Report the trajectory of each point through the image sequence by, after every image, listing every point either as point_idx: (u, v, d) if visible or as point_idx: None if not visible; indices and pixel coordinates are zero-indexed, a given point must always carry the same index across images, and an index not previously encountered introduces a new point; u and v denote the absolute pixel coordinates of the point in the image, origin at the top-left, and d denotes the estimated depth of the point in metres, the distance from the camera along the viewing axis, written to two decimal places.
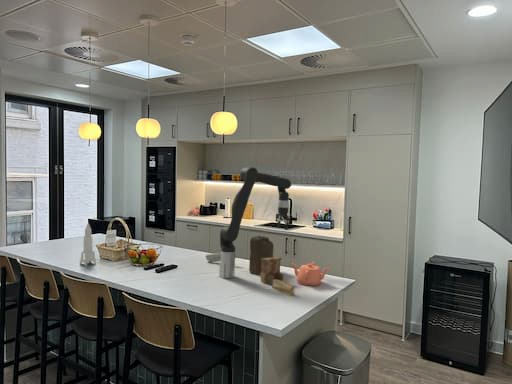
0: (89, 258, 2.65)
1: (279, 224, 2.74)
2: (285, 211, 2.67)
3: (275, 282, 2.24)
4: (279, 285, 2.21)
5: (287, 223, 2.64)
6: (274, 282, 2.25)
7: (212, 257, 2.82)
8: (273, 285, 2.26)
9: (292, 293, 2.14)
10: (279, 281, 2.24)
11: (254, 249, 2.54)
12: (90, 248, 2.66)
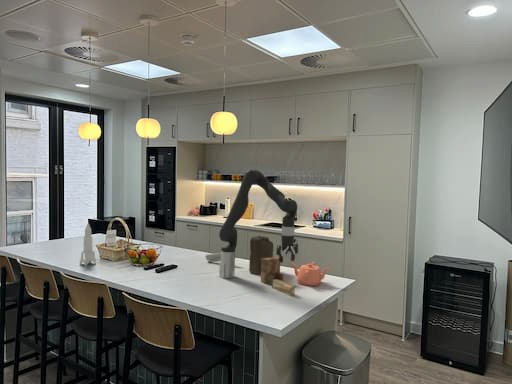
0: (89, 258, 2.65)
1: None
2: None
3: (275, 282, 2.24)
4: (279, 285, 2.21)
5: (297, 252, 2.21)
6: (274, 282, 2.25)
7: (212, 257, 2.82)
8: (273, 285, 2.26)
9: (292, 293, 2.14)
10: (279, 281, 2.24)
11: (254, 249, 2.54)
12: (90, 248, 2.66)
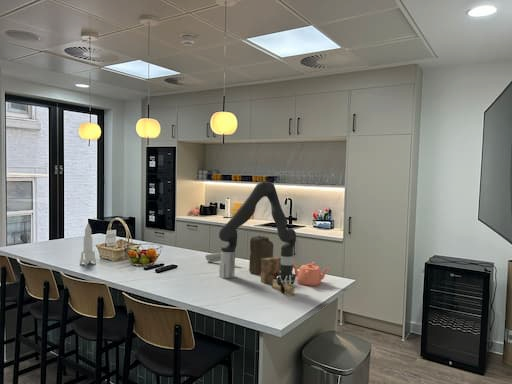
0: (89, 258, 2.65)
1: None
2: None
3: (275, 282, 2.24)
4: None
5: (293, 283, 2.20)
6: (274, 282, 2.25)
7: (212, 257, 2.82)
8: (273, 285, 2.26)
9: (292, 293, 2.14)
10: None
11: (254, 249, 2.54)
12: (90, 248, 2.66)
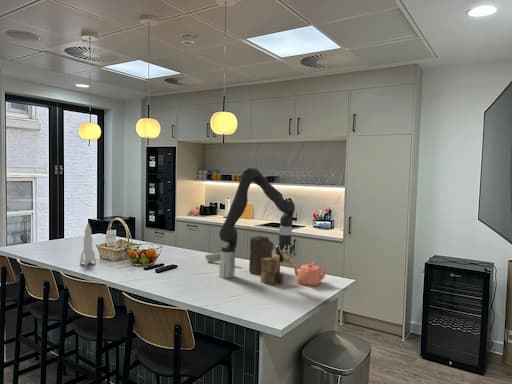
0: (89, 258, 2.65)
1: None
2: None
3: (274, 252, 2.30)
4: (278, 255, 2.27)
5: (291, 253, 2.26)
6: (273, 252, 2.31)
7: (212, 257, 2.82)
8: (272, 255, 2.32)
9: (290, 262, 2.20)
10: None
11: (254, 249, 2.54)
12: (90, 248, 2.66)
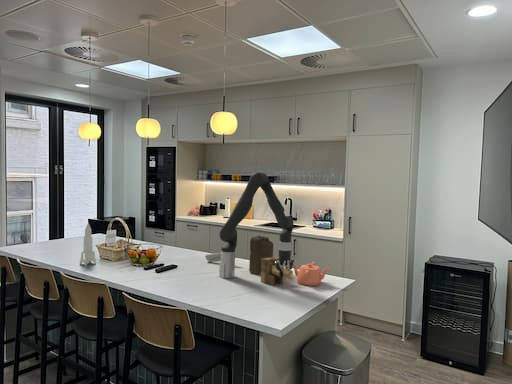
0: (89, 258, 2.65)
1: None
2: None
3: (274, 267, 2.33)
4: None
5: (291, 268, 2.29)
6: (273, 267, 2.34)
7: (212, 257, 2.82)
8: (272, 270, 2.35)
9: (290, 277, 2.23)
10: None
11: (254, 249, 2.54)
12: (90, 248, 2.66)
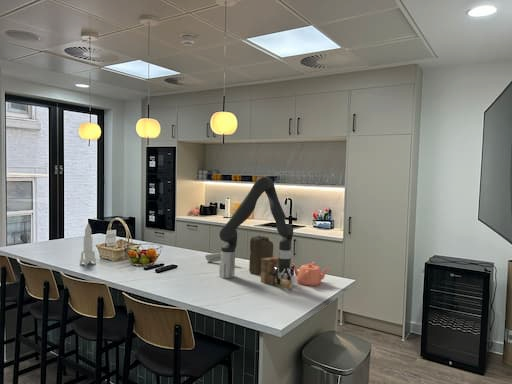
0: (89, 258, 2.65)
1: None
2: None
3: None
4: None
5: (293, 274, 2.31)
6: None
7: (212, 257, 2.82)
8: None
9: (290, 288, 2.23)
10: None
11: (254, 249, 2.54)
12: (90, 248, 2.66)
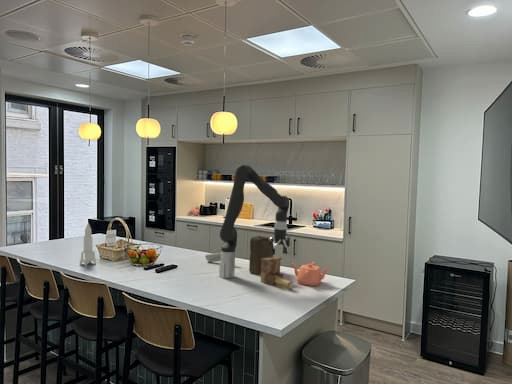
0: (89, 258, 2.65)
1: None
2: None
3: None
4: (277, 280, 2.30)
5: (289, 245, 2.34)
6: None
7: (211, 257, 2.82)
8: None
9: (290, 288, 2.23)
10: (277, 276, 2.33)
11: (254, 249, 2.54)
12: (90, 248, 2.66)
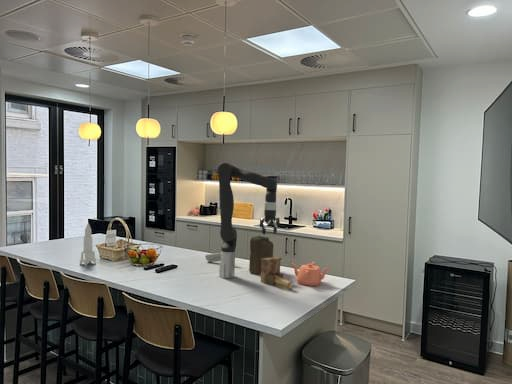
0: (89, 258, 2.65)
1: None
2: None
3: None
4: (277, 280, 2.30)
5: None
6: None
7: (211, 257, 2.82)
8: None
9: (289, 288, 2.23)
10: (277, 276, 2.33)
11: (254, 249, 2.54)
12: (90, 248, 2.66)
